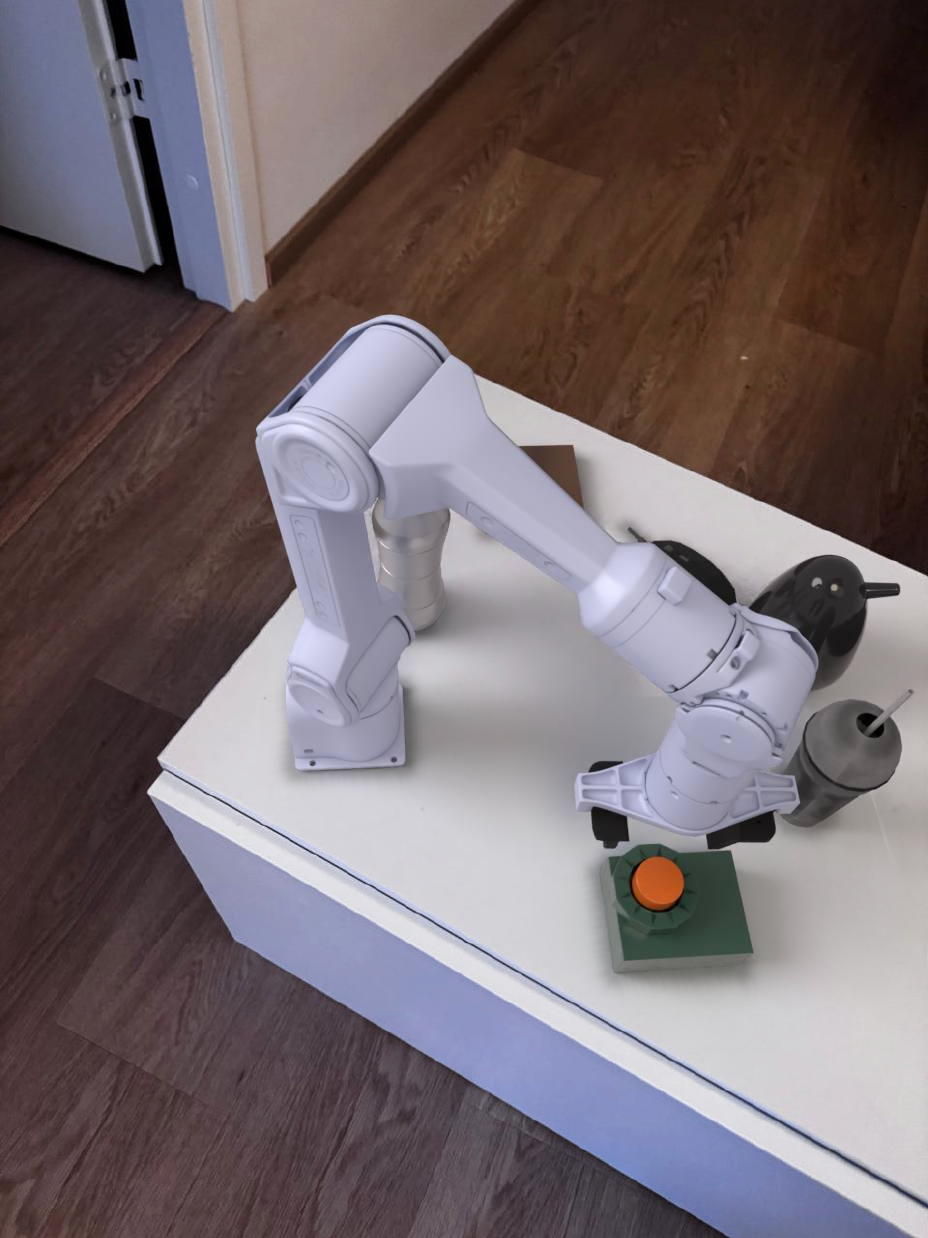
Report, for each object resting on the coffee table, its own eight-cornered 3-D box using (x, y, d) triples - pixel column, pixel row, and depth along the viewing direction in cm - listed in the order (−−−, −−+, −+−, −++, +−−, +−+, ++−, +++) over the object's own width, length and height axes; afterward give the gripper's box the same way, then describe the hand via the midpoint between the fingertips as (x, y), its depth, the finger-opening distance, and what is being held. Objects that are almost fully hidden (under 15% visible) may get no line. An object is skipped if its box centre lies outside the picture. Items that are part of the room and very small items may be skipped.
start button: (635, 911, 73) (640, 905, 72) (628, 865, 75) (632, 857, 74) (682, 909, 73) (688, 902, 72) (674, 862, 75) (679, 855, 74)
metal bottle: (367, 592, 94) (357, 453, 77) (434, 577, 95) (439, 436, 78) (384, 647, 91) (378, 515, 74) (453, 631, 92) (463, 496, 75)
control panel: (474, 552, 97) (475, 540, 95) (465, 459, 103) (466, 445, 102) (586, 549, 98) (589, 536, 96) (570, 457, 104) (573, 443, 102)
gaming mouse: (652, 516, 100) (660, 492, 97) (748, 619, 94) (761, 597, 91) (604, 542, 98) (611, 518, 95) (699, 649, 92) (710, 627, 89)
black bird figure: (838, 719, 89) (910, 633, 76) (724, 697, 90) (777, 608, 77) (837, 627, 94) (904, 532, 81) (730, 606, 95) (780, 509, 82)
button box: (610, 973, 76) (624, 955, 71) (595, 870, 80) (608, 846, 75) (738, 965, 77) (761, 947, 72) (716, 863, 81) (736, 839, 76)
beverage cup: (742, 778, 85) (824, 668, 68) (813, 753, 87) (910, 638, 70) (784, 854, 82) (882, 758, 65) (857, 826, 83) (971, 725, 66)
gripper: (808, 704, 62) (747, 786, 74) (584, 701, 62) (557, 784, 73) (831, 808, 59) (763, 877, 70) (592, 806, 58) (563, 876, 70)
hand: (659, 836), depth 71 cm, fingers open, 7 cm apart
